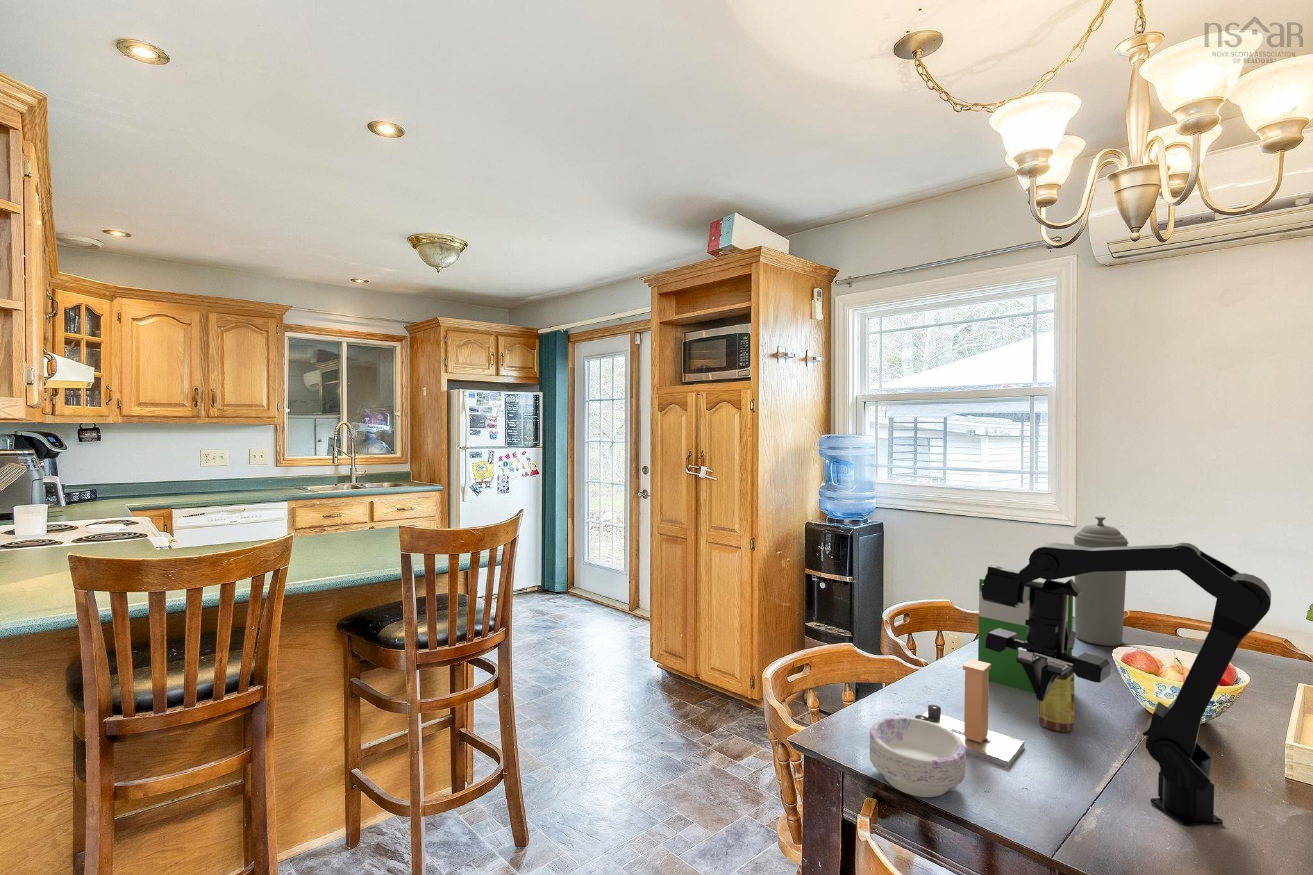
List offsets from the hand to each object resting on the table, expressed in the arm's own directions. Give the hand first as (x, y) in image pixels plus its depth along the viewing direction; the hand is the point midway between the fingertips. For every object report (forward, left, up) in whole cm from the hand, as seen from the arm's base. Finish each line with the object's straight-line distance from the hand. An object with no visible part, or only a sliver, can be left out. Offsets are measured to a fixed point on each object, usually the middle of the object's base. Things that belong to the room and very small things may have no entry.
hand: (1040, 700), depth 115 cm
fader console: (+10, +8, -12) cm, 17 cm away
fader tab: (+8, +7, -10) cm, 15 cm away
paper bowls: (-3, +25, -12) cm, 28 cm away
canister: (+61, -61, -12) cm, 87 cm away
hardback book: (+34, -20, -12) cm, 41 cm away
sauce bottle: (+14, -13, -12) cm, 22 cm away
